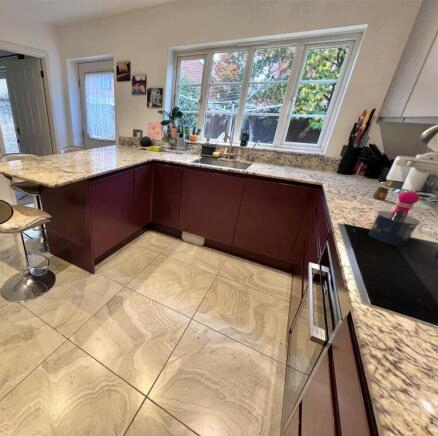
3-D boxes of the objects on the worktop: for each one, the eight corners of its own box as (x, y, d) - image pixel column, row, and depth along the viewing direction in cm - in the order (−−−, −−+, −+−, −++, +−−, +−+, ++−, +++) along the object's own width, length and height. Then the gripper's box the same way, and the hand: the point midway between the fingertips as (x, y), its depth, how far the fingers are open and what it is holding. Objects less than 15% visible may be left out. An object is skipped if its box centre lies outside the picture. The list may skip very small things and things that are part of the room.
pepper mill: (384, 232, 103) (407, 189, 95) (376, 225, 109) (397, 185, 101) (405, 235, 101) (430, 192, 92) (395, 228, 107) (419, 187, 99)
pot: (413, 245, 93) (426, 224, 89) (387, 245, 92) (399, 224, 88) (385, 231, 104) (395, 212, 100) (361, 231, 103) (370, 212, 99)
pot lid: (428, 226, 89) (434, 216, 87) (398, 226, 88) (404, 216, 86) (394, 213, 100) (399, 204, 99) (368, 213, 99) (372, 204, 98)
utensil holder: (369, 197, 150) (378, 179, 145) (378, 197, 151) (386, 179, 146) (378, 200, 145) (388, 181, 140) (387, 200, 145) (397, 181, 140)
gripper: (401, 153, 114) (397, 155, 106) (467, 160, 100) (467, 163, 92) (395, 165, 117) (390, 168, 109) (458, 174, 103) (458, 179, 95)
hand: (426, 166), depth 100 cm, fingers open, 8 cm apart
